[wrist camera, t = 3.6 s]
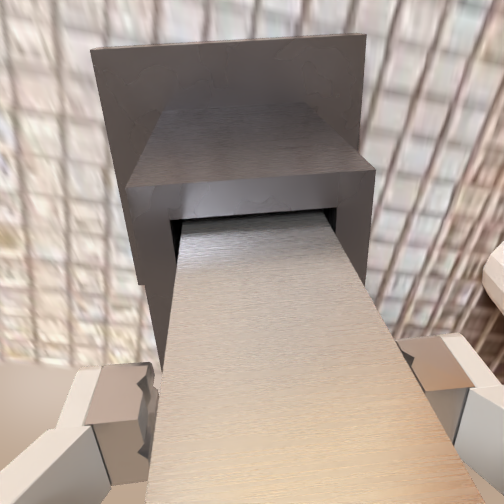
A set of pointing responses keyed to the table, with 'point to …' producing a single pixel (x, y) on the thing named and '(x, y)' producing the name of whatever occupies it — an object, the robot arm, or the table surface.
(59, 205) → the table surface
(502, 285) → the white tapered cup
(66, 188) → the table surface
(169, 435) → the steel post
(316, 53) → the sleeve stand
